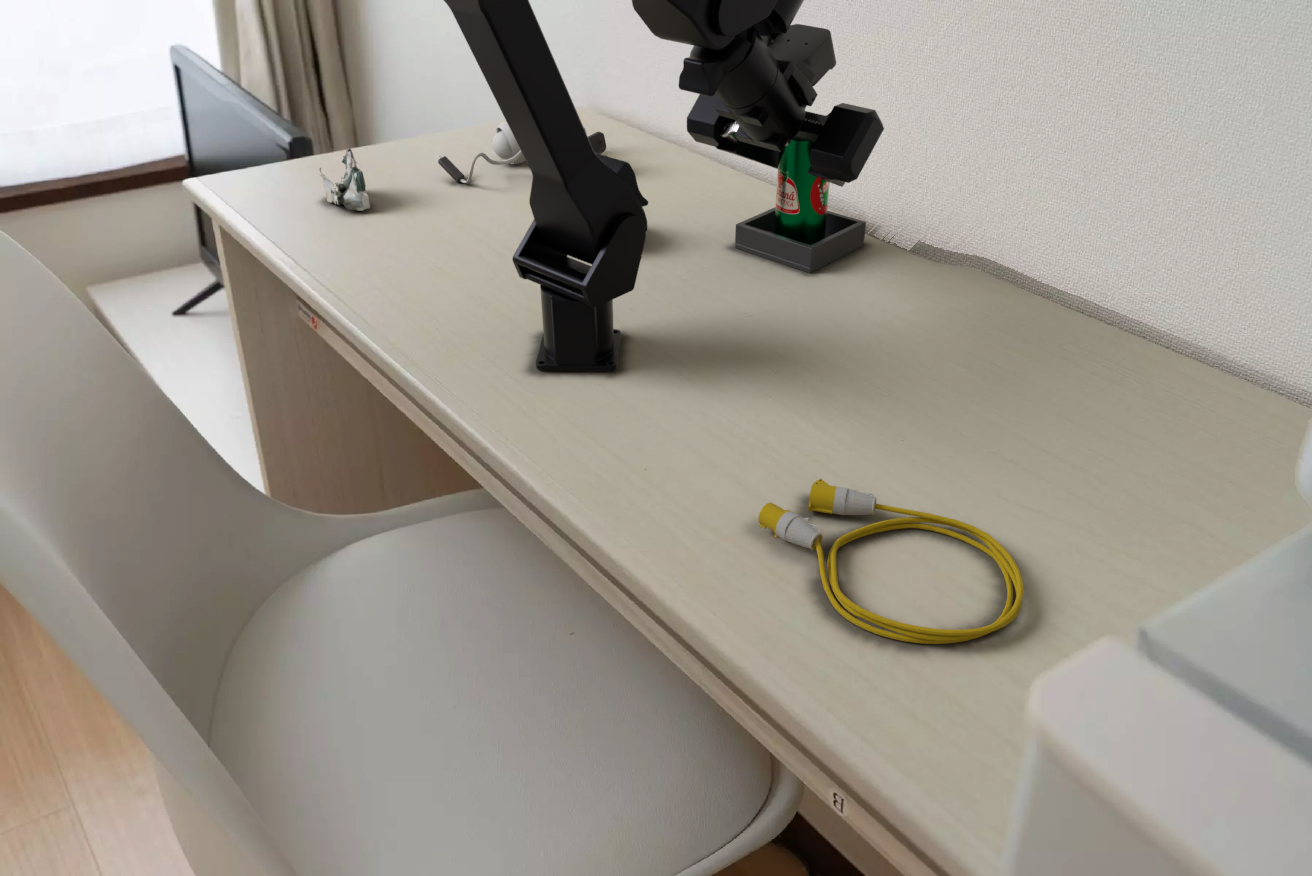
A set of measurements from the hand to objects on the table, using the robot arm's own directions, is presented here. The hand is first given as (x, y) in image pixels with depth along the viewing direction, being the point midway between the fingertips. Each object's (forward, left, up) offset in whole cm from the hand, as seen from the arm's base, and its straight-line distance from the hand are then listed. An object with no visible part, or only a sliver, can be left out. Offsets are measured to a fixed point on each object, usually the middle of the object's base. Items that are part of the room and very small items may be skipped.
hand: (813, 173), depth 103 cm
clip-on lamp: (+21, +32, -7) cm, 39 cm away
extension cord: (-51, -1, -7) cm, 51 cm away
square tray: (-1, +1, -7) cm, 7 cm away
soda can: (-1, +1, -7) cm, 7 cm away
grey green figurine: (+10, +50, -7) cm, 51 cm away
